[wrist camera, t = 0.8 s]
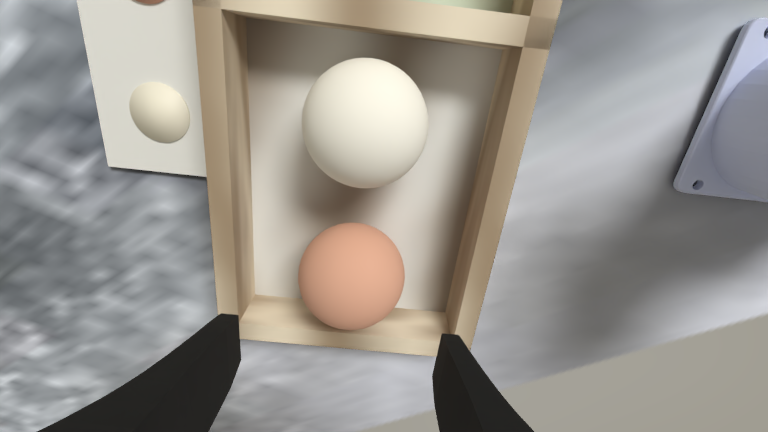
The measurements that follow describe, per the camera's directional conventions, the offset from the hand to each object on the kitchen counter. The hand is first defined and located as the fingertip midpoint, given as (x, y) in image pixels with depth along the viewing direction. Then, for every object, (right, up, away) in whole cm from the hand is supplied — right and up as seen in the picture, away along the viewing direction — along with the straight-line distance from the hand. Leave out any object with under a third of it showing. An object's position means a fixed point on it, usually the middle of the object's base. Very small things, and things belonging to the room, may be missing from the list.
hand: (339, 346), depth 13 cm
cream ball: (+1, +8, +2) cm, 8 cm away
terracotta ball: (0, +2, +4) cm, 5 cm away
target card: (-9, +13, +3) cm, 16 cm away
